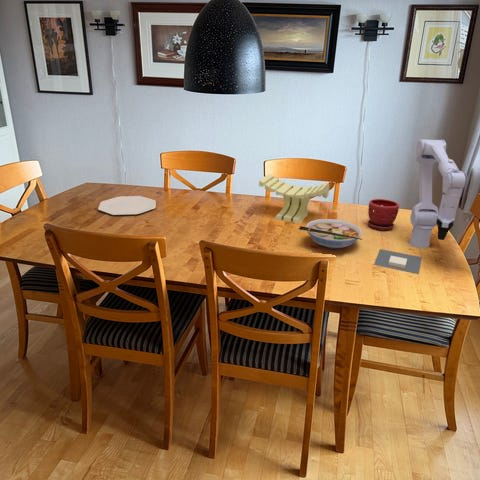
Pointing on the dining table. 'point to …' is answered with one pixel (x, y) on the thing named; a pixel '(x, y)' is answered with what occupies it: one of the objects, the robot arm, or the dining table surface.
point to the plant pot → (382, 213)
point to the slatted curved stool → (293, 197)
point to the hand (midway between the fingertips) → (440, 239)
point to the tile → (397, 261)
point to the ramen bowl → (333, 232)
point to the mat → (412, 261)
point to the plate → (127, 205)
